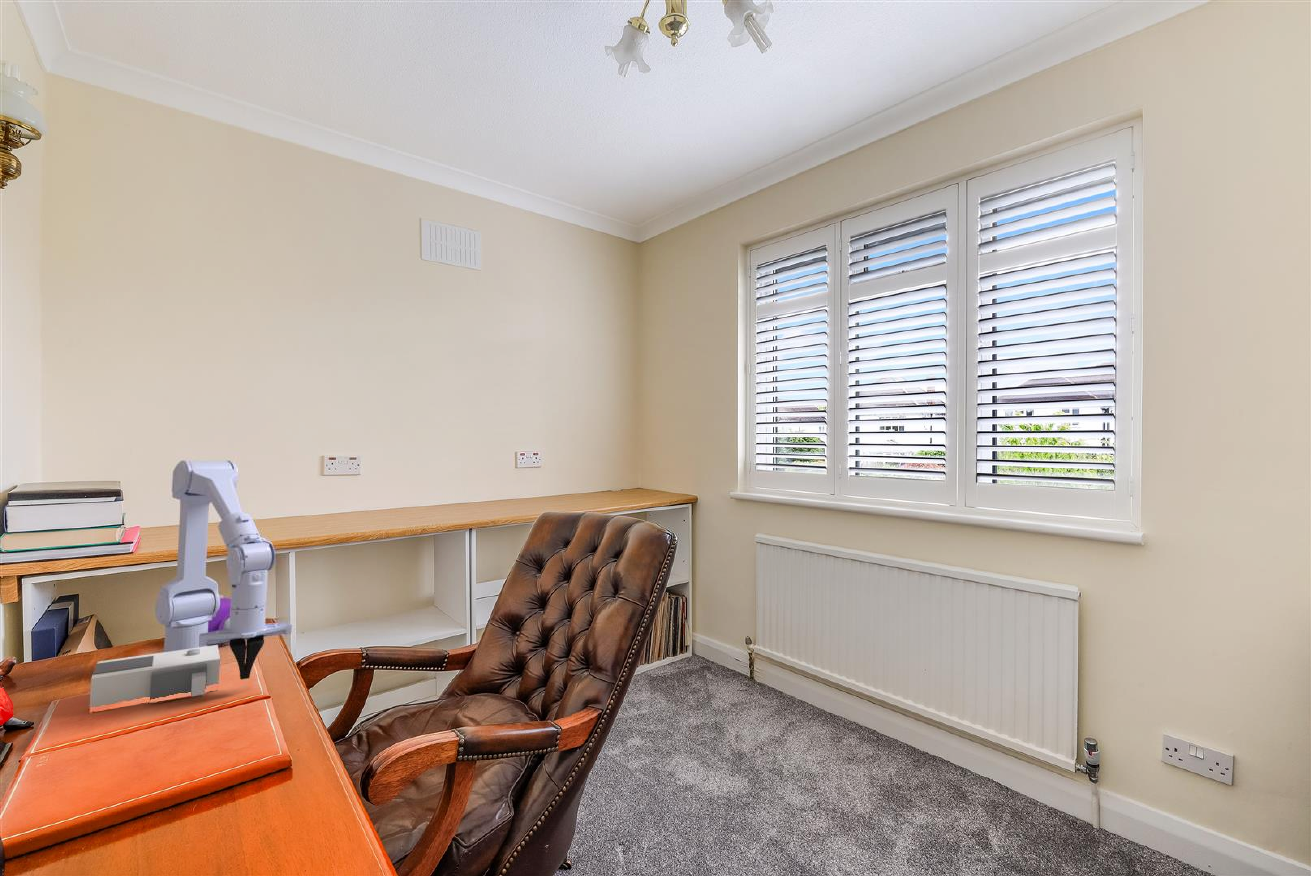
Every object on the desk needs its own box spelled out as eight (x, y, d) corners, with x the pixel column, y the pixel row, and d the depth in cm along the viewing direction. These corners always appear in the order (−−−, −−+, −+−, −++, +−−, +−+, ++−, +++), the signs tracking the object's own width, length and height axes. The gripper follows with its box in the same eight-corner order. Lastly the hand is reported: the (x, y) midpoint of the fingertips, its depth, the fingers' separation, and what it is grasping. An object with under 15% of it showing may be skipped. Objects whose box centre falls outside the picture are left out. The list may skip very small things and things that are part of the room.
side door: (149, 701, 107) (151, 672, 107) (205, 691, 112) (207, 663, 112) (148, 709, 103) (150, 679, 103) (206, 699, 108) (207, 670, 108)
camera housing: (95, 694, 110) (98, 658, 110) (216, 674, 121) (217, 641, 121) (88, 714, 102) (91, 675, 102) (218, 690, 113) (220, 656, 113)
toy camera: (219, 652, 134) (222, 608, 134) (170, 646, 136) (173, 602, 137) (260, 638, 144) (262, 597, 145) (214, 632, 147) (216, 592, 147)
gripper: (201, 616, 106) (197, 692, 105) (295, 605, 115) (291, 675, 114) (200, 607, 111) (196, 680, 111) (290, 597, 120) (286, 664, 120)
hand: (244, 677), depth 113 cm, fingers closed
